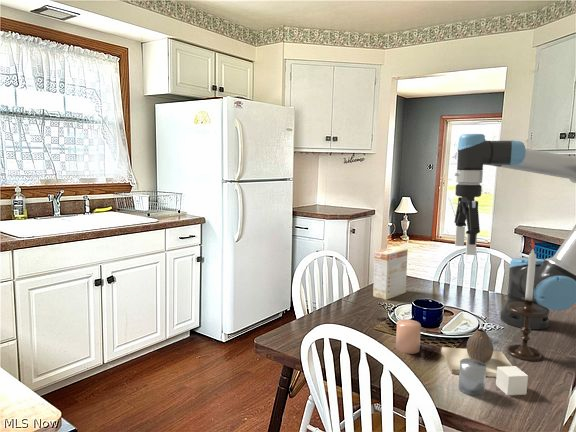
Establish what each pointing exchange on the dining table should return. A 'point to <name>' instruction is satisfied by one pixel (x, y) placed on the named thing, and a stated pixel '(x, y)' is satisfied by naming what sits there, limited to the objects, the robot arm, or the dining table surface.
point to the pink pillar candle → (408, 336)
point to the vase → (480, 346)
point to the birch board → (457, 354)
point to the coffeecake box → (390, 272)
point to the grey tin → (472, 377)
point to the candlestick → (527, 315)
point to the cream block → (511, 380)
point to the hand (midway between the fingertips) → (464, 250)
